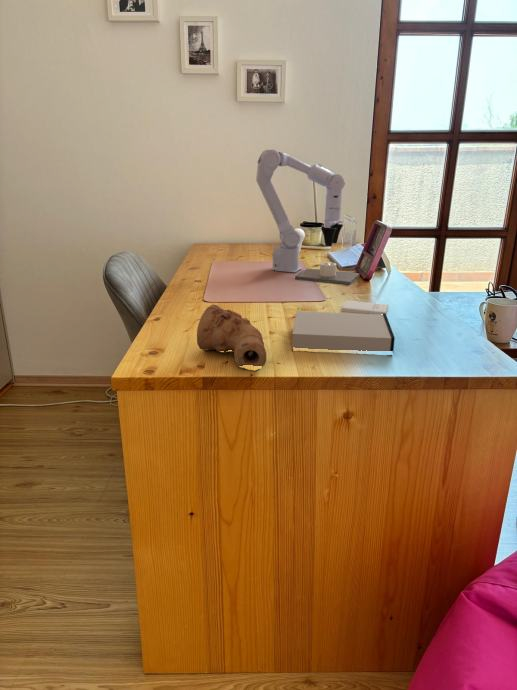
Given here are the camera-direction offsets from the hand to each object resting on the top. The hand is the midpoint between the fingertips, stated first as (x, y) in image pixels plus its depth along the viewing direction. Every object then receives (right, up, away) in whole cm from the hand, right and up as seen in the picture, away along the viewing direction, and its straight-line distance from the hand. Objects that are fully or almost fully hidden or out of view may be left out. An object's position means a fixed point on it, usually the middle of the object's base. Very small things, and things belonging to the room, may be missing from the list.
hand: (331, 244), depth 193 cm
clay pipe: (-34, -41, -81) cm, 97 cm away
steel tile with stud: (-3, -14, -10) cm, 17 cm away
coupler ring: (-3, -13, -10) cm, 17 cm away
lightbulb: (-10, +3, +34) cm, 35 cm away
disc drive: (-8, -38, -71) cm, 80 cm away
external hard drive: (+3, -29, -46) cm, 54 cm away
